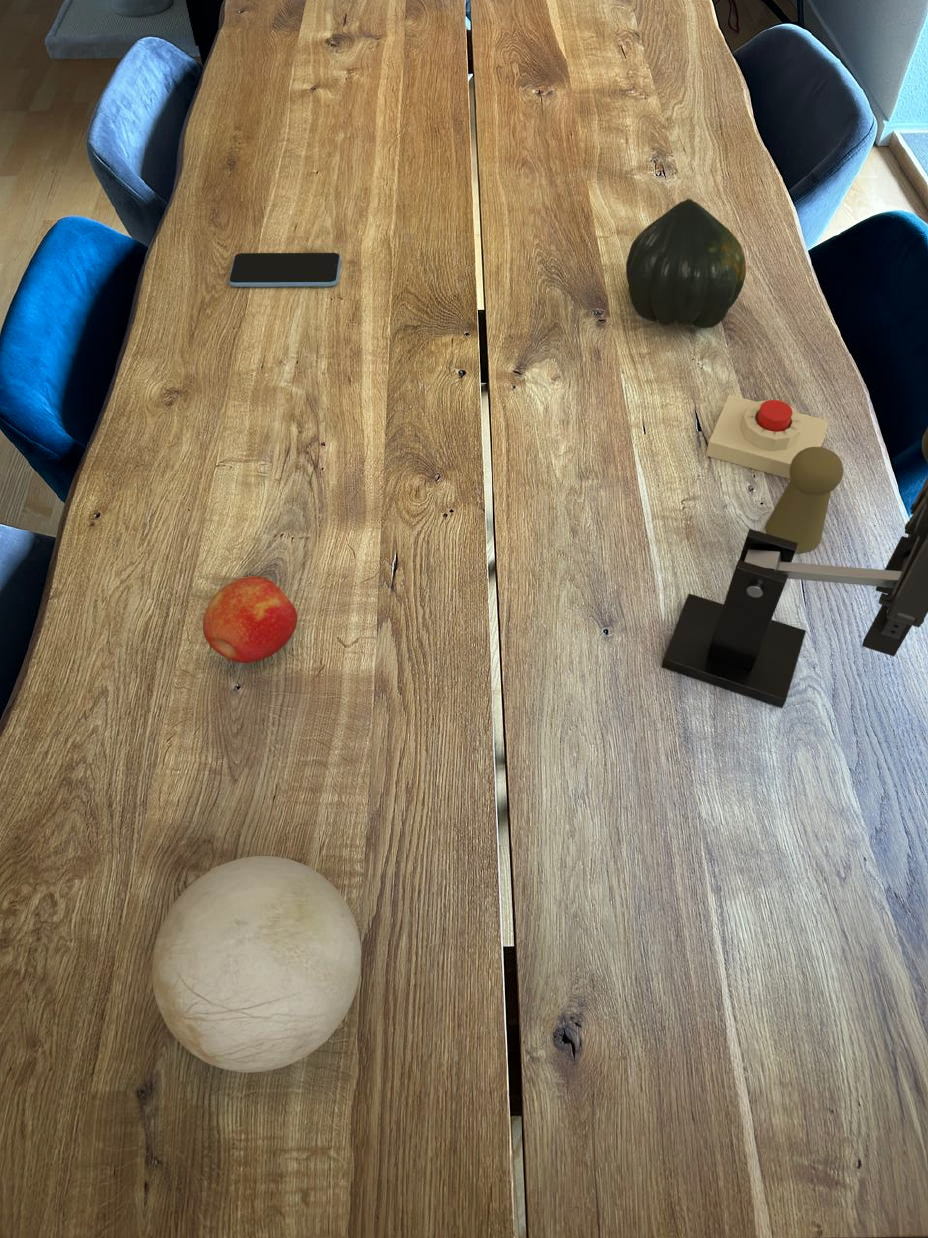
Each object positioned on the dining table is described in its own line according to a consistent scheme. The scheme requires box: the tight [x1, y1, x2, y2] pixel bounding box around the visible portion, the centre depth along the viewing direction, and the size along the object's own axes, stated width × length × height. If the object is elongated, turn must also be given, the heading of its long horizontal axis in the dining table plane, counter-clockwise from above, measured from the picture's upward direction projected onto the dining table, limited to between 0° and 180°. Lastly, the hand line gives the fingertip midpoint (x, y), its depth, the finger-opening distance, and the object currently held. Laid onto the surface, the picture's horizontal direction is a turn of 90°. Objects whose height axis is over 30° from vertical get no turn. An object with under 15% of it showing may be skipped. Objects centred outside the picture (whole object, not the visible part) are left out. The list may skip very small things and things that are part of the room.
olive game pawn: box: [764, 446, 844, 554], centre depth 106 cm, size 6×6×11 cm
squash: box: [625, 198, 747, 329], centre depth 130 cm, size 14×15×15 cm
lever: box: [744, 549, 912, 588], centre depth 87 cm, size 14×6×2 cm, turn 67°
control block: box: [705, 394, 830, 480], centre depth 117 cm, size 12×9×4 cm
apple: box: [202, 575, 298, 664], centre depth 98 cm, size 8×8×8 cm
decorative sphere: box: [151, 855, 363, 1073], centre depth 74 cm, size 15×15×15 cm
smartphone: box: [227, 252, 342, 288], centre depth 140 cm, size 7×1×15 cm
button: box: [757, 399, 792, 432], centre depth 115 cm, size 4×4×2 cm
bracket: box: [660, 528, 807, 709], centre depth 95 cm, size 12×9×15 cm
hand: (885, 619), depth 89 cm, fingers closed on lever, 6 cm apart
